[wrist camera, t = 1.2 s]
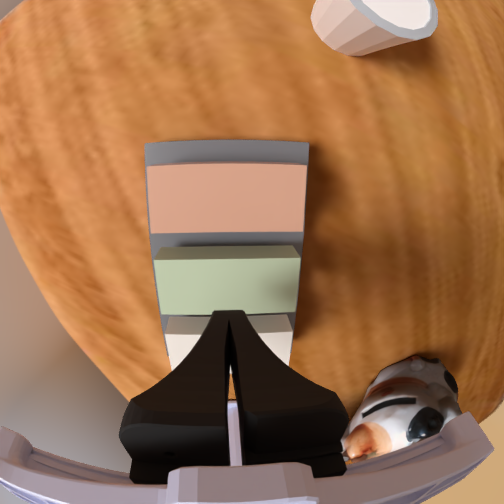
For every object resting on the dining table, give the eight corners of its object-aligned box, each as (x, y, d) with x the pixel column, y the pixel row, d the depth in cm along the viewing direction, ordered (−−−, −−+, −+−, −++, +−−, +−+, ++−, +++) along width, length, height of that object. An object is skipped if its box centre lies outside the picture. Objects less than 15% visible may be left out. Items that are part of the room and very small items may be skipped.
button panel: (286, 338, 24) (291, 353, 22) (170, 341, 23) (167, 356, 21) (300, 142, 18) (309, 142, 16) (152, 143, 17) (144, 143, 16)
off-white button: (282, 352, 21) (287, 370, 19) (175, 354, 20) (172, 373, 18) (286, 314, 19) (292, 331, 17) (169, 316, 19) (164, 334, 17)
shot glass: (287, -5, 14) (313, -55, 7) (364, -11, 14) (407, -47, 7) (324, 70, 16) (369, 42, 10) (398, 58, 16) (455, 40, 10)
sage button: (288, 295, 19) (295, 311, 17) (166, 297, 18) (161, 314, 16) (292, 245, 17) (300, 257, 16) (161, 247, 17) (153, 259, 15)
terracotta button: (294, 221, 17) (302, 231, 15) (158, 223, 16) (150, 233, 14) (297, 162, 16) (306, 165, 14) (155, 163, 15) (146, 166, 13)
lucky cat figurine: (355, 434, 32) (342, 509, 19) (331, 371, 33) (310, 447, 20) (454, 402, 27) (477, 473, 14) (443, 330, 27) (481, 395, 14)
